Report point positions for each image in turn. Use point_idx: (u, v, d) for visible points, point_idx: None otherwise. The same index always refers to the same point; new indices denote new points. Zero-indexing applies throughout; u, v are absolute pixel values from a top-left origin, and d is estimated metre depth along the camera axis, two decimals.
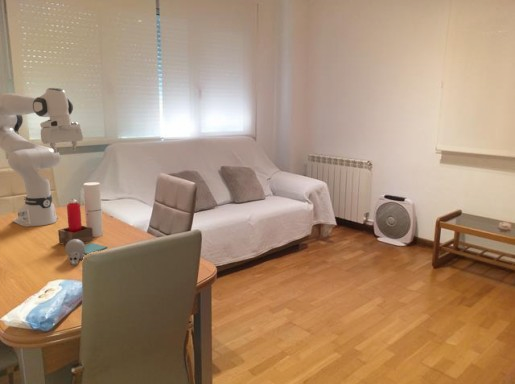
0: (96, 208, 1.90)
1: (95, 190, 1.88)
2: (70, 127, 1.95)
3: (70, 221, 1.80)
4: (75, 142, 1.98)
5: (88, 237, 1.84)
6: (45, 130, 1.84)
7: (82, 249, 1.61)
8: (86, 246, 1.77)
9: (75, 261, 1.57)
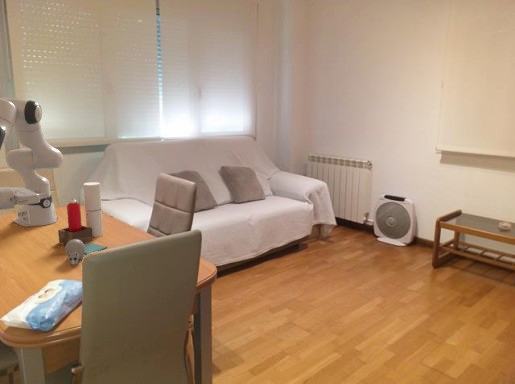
0: (96, 208, 1.90)
1: (95, 190, 1.88)
2: (17, 202, 1.61)
3: (70, 221, 1.80)
4: None
5: (88, 237, 1.84)
6: None
7: (82, 249, 1.61)
8: (86, 246, 1.77)
9: (75, 261, 1.56)
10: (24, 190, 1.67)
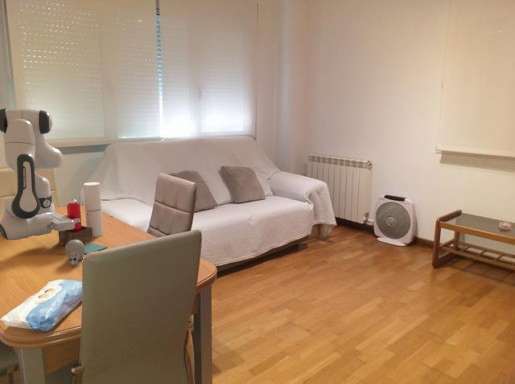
0: (96, 208, 1.90)
1: (95, 190, 1.88)
2: None
3: None
4: None
5: (88, 237, 1.84)
6: None
7: (82, 250, 1.60)
8: (86, 246, 1.77)
9: (75, 262, 1.56)
10: (59, 216, 1.79)
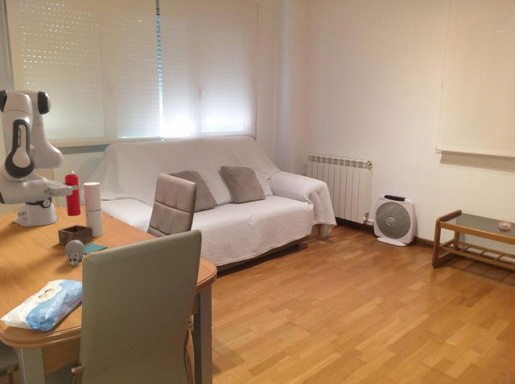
0: (96, 208, 1.90)
1: (95, 190, 1.88)
2: (50, 194, 1.69)
3: None
4: None
5: (88, 237, 1.84)
6: None
7: (82, 250, 1.60)
8: (86, 246, 1.77)
9: (75, 262, 1.56)
10: (56, 183, 1.76)
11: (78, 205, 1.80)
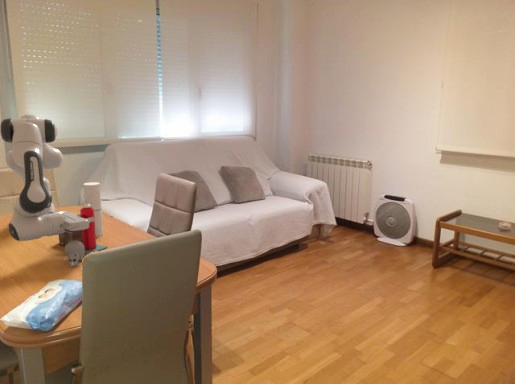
0: (96, 208, 1.90)
1: (95, 190, 1.88)
2: None
3: None
4: None
5: None
6: None
7: (82, 250, 1.59)
8: None
9: (74, 263, 1.55)
10: (72, 215, 1.69)
11: (94, 238, 1.73)
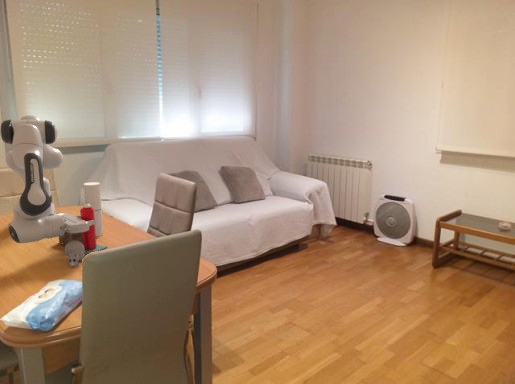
0: (96, 208, 1.90)
1: (95, 190, 1.88)
2: None
3: None
4: None
5: None
6: None
7: (81, 251, 1.59)
8: None
9: (74, 263, 1.55)
10: (72, 217, 1.69)
11: (94, 238, 1.73)
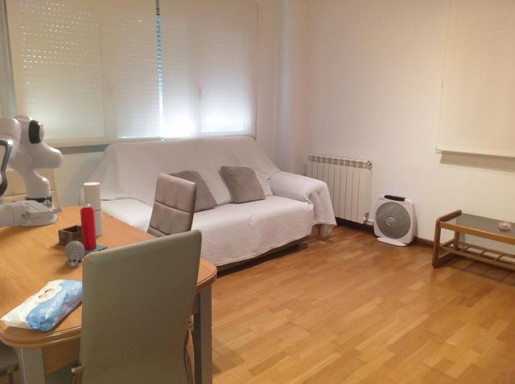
0: (96, 208, 1.90)
1: (95, 190, 1.88)
2: None
3: (84, 227, 1.70)
4: None
5: None
6: None
7: (81, 251, 1.59)
8: None
9: (74, 263, 1.55)
10: (36, 204, 1.58)
11: (94, 238, 1.73)
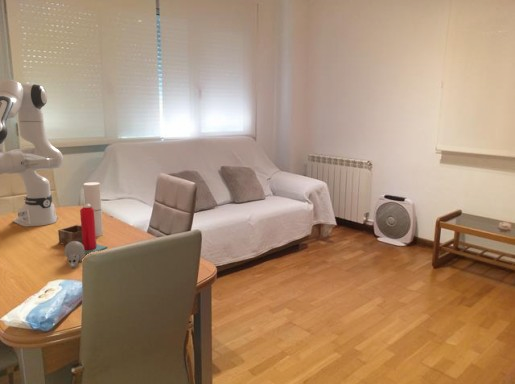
0: (96, 208, 1.90)
1: (95, 190, 1.88)
2: (27, 166, 1.65)
3: (84, 227, 1.70)
4: None
5: None
6: None
7: (81, 251, 1.59)
8: None
9: (74, 263, 1.54)
10: (34, 155, 1.71)
11: (94, 238, 1.73)
